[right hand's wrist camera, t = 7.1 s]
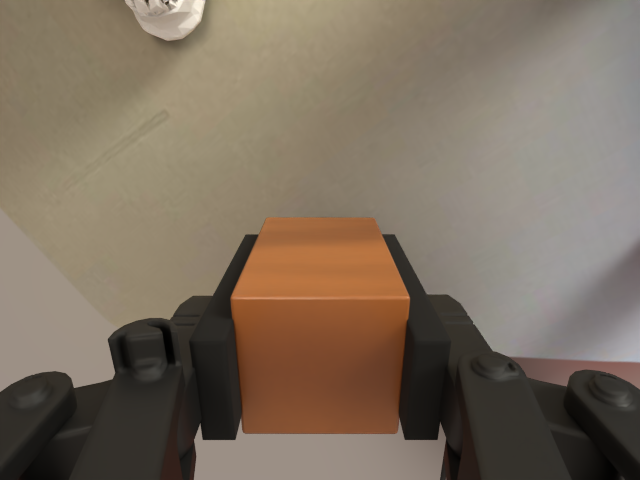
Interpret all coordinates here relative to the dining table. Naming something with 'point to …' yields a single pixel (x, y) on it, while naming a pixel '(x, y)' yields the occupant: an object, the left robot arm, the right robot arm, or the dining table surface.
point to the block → (320, 329)
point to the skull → (168, 16)
